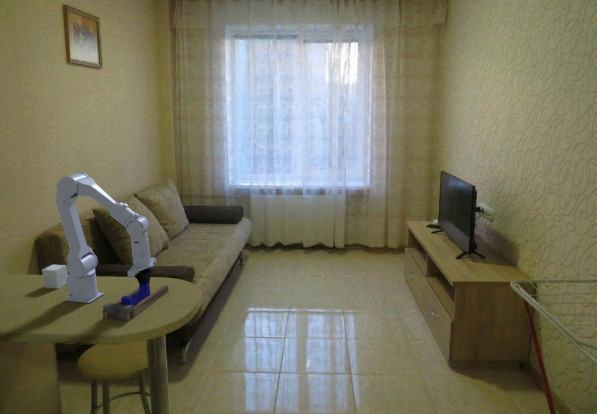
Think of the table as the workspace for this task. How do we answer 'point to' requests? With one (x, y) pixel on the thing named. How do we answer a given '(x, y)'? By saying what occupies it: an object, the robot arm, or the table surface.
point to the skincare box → (55, 276)
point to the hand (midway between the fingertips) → (145, 289)
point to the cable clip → (137, 295)
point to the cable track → (131, 311)
